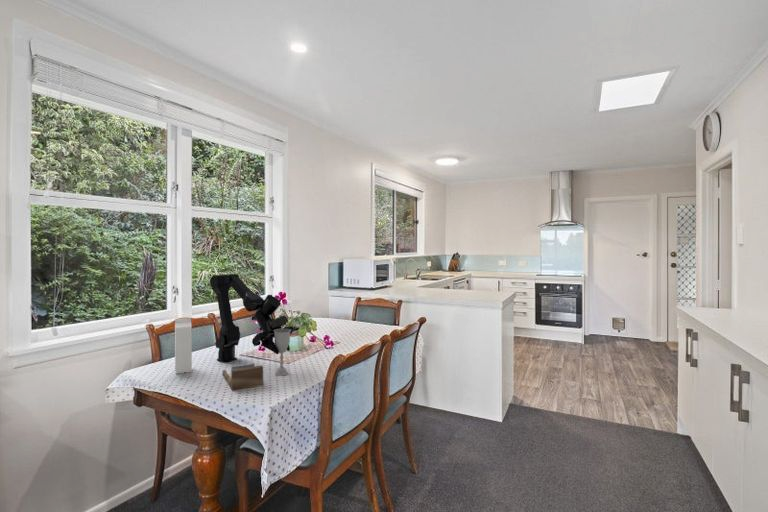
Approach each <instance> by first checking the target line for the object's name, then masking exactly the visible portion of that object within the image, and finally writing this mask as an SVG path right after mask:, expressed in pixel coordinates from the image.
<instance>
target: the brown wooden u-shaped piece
mask: <svg viewBox="0 0 768 512" xmlns="http://www.w3.org/2000/svg"><path fill="white" fill-rule="evenodd" d="M230 372H231V373H230V374H229V373H228V372H227V370H226V369H222V373H221V374H222V376H223V378H224V380H225V381H226V383H227V385H228V386H229V387H230V389H231V391H237V390H243V389H249V388H255V387H256V388H257V387H261V386H263V385H264V365H256V366H255V365H254V367H248V368H241V369H234V370H230Z"/></svg>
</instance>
